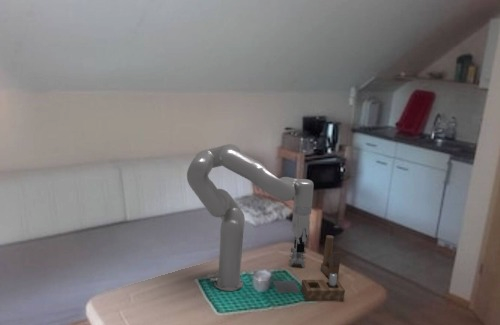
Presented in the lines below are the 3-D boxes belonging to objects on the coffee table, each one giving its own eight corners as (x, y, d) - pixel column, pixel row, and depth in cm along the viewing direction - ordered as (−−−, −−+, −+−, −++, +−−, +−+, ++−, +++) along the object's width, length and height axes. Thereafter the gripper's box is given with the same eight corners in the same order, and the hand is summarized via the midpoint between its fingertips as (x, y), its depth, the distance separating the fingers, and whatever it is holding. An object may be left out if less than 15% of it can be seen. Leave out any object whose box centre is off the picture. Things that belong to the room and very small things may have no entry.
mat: (277, 293, 187) (277, 292, 187) (272, 281, 197) (272, 280, 197) (300, 293, 189) (300, 292, 189) (294, 281, 199) (294, 280, 199)
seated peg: (328, 297, 187) (331, 276, 185) (326, 293, 190) (329, 272, 188) (335, 297, 188) (338, 276, 186) (333, 293, 191) (335, 272, 188)
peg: (295, 258, 186) (297, 236, 184) (294, 255, 189) (295, 233, 187) (302, 258, 187) (304, 236, 185) (300, 255, 190) (302, 233, 187)
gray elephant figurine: (290, 269, 210) (292, 255, 208) (283, 257, 221) (285, 243, 219) (308, 269, 212) (310, 255, 210) (301, 257, 223) (303, 243, 221)
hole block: (306, 301, 183) (307, 290, 182) (300, 290, 192) (302, 279, 190) (343, 301, 185) (344, 290, 184) (336, 290, 194) (337, 279, 193)
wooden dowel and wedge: (330, 281, 202) (335, 244, 197) (320, 270, 212) (324, 234, 207) (338, 280, 203) (342, 244, 199) (327, 269, 213) (331, 234, 209)
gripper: (288, 202, 190) (285, 242, 195) (298, 216, 175) (295, 259, 179) (305, 202, 192) (302, 242, 196) (317, 216, 176) (313, 258, 180)
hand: (299, 249), depth 187 cm, fingers closed on peg, 3 cm apart
